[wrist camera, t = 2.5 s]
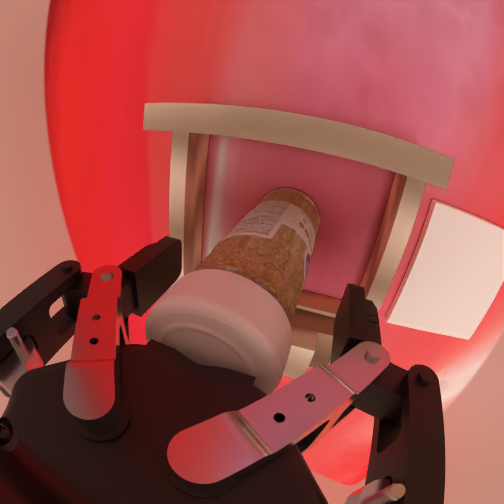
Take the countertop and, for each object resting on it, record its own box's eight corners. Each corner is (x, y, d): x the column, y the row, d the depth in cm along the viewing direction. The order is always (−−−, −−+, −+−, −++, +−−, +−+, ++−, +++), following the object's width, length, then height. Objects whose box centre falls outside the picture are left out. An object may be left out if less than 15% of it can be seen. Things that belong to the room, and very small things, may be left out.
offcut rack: (197, 105, 17) (145, 103, 12) (418, 147, 14) (454, 159, 9) (188, 295, 25) (154, 336, 20) (350, 341, 22) (347, 396, 17)
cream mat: (432, 198, 15) (435, 201, 15) (517, 234, 13) (521, 238, 13) (385, 316, 20) (386, 322, 19) (466, 333, 18) (469, 339, 18)
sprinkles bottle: (323, 245, 19) (288, 417, 8) (262, 249, 21) (170, 396, 9) (316, 181, 17) (265, 306, 6) (250, 189, 19) (117, 298, 7)
